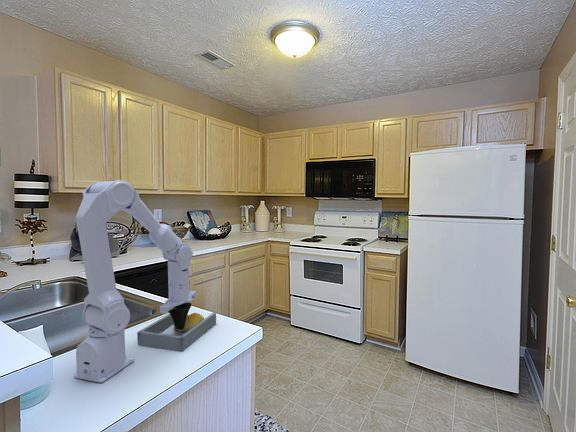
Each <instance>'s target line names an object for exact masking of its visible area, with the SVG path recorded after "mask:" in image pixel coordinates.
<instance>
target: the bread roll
mask: <svg viewBox="0 0 576 432" xmlns="http://www.w3.org/2000/svg"><path fill="white" fill-rule="evenodd" d="M204 319H205V318H204V316H203V315H202V314H200V313H197V312H192V313H191V314H187V318H186V322H185V326H184V329H182V330H178V329H176V328H175V325H174V324H173V328H174V329H175V330H176V331H177V332H181V333H186V332H188V331H189V330H190V329H192V328H193V327H194V326H196V325H197V324H198V323H200V322H201V321H203V320H204Z"/></svg>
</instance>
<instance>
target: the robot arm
mask: <svg viewBox="0 0 576 432" xmlns="http://www.w3.org/2000/svg"><path fill="white" fill-rule="evenodd" d="M82 197H83V198H82V200H81V202H80V205H79V208H78V210H77V212H76V216H75V221H76V228H77V232H78V239H79V244H80V250H81V256H82V261H83V269H84V272H85V277H86V284H87V289H88V294H87V296H86V297H85V298H84V299H83V302H84V308H83V311H82V321H83V322H84V323H85V325H87V326H88V335H87V337H86V338H85V339H84V340H83V341H81V342H80V343H79V344H78V345H77V347H76V348H75V349H76V350H75V356H76V358H75V362H76V363H75V364H76V373H75V374H74V376H73V377H74V378H76V379H80V380H81V379H82V380H86V381H91V382H96V383H104V382H106V381H107V380H109V379H110V378H111V377H113V376H114V375H116V374H117V373H119V372H120V371H121V370H123V369H124V368H126V367H127V366H128V365H131V364H132V363H133V362H134V361H135V358H133V357H126V339H125V336H126V334H125V331H126V327H127V326H128V325H129V322H130V320H131V311H130V309H129V308H128V307H127V306H126V304H125V299H124V297H123V295H121V293H120V292H119V290H118V289H117V286H116V285H117V284H116V279H115V278H116V277H115V272H114V267H113V260H112V254H111V249H110V240H109V235H108V230H107V223H108V222H109V221H110V220H111V219H112V217H114V215H116V214H117V213H119V212H121V211H122V212H125V213H128V214H129V215H130V216H132V218H134V220H135V221H137V222H138V223H139V224H140V225H141V226H142V227H144V229H146V230H147V231H148V232H149V234H148V239H149V240H150V241H151V242H152V243H153V244H154V245H155V246H156V247H157V248H158V249H159V250H160V252H162V258H163V259H164V260H166V261H167V276H168V277H167V278H168V279H167V281H168V283H167V285H168V288H167V289H168V299H166V300H165V302H164V303H163V304H162V305H160V306H159V314H163V315H168V314H170V315H171V317H172V319H173V322H174V324H173V326H174V325H175V328H176V329H178V330H182V329H184V326H185V322H186V318H187V315H189V312H190V309H191V308H192V303H191V302H193V299H194V298H197V293H196V292H197V291H196V290H190V269H189V268H190V266H191V260H192V259H193V256H194V252H193V251H192V248H191V246H190V245H189V244H188V243H183V241H182V238H181V237H178V236H177V234H176V233H175V232H174V231H173V227H172V226H171V225H168V224H165V223H160V222H159V221H158V219H157V218H156V217H155V215H154V214H153V213H152V212H151V211H150V209H149V207H148V206H147V205H146V204H145V203H144V202H143V200H142V199H141V198H140V194H139V192H138V191H137V190H135V189H134V187H133V186H132V185H131V183H129V182H128V181H127V180H121V179H117V180H113V181H110V180H109V181H108V180H107V181H102V180H101V181H100V180H99V181H94V182H92V183H90V185H88V186H87V187H86V188H85V189H84V190H83V191H82ZM175 328H174V329H175ZM176 329H175V330H176ZM178 330H177V331H178Z"/></svg>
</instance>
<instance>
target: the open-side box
mask: <svg viewBox="0 0 576 432" xmlns="http://www.w3.org/2000/svg"><path fill="white" fill-rule="evenodd" d="M172 325H173V326H174V322H173V319H172V317H171V315H170V313H167V314H165V316H163V317H161V318H159V319H158V320H155V321H154V322H152V323H150V324H149V325H147V326H146V327H144V328H142V329H140V330H139V331H137V333H136V336H137V338H136V339H137V346H144V347H151V348H157V349H163V350H164V349H165V350H170V351H177V352H184V351H185V350H186V349H188V348H189V347H190V346H191V345H192V344H193V343H195V342H196V341H197V340H198V339H200V338H201V336H203V335H205V333H206V332H208V331H209V330H210V329H212V328H213V327H214V326H215V325H217V313H216V312H211V314H209V315H208V316H207V317H205V318H204V320H203V321H201V322H200V323H198V324H197V325H196V326H194V327H193V328H192V329H190V330H189V331H187V332H184V333H183V334H182V335H173V334H166V333H162V332H163V331H165V330H166V329H167V330H168V328H170V327H172Z"/></svg>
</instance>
